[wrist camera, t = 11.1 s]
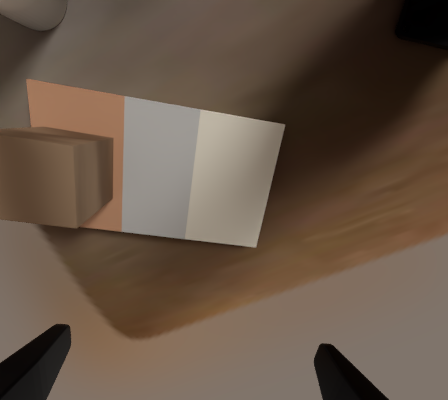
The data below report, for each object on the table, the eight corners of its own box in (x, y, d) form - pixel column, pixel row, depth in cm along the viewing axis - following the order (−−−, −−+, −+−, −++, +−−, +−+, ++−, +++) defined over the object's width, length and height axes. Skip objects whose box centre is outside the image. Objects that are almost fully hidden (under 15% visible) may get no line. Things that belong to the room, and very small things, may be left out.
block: (113, 137, 16) (73, 146, 11) (112, 198, 17) (76, 228, 13) (44, 126, 16) (-29, 130, 11) (49, 190, 17) (-13, 217, 12)
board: (280, 124, 18) (285, 124, 16) (253, 240, 21) (256, 247, 20) (40, 81, 16) (26, 78, 15) (51, 215, 19) (41, 222, 18)
